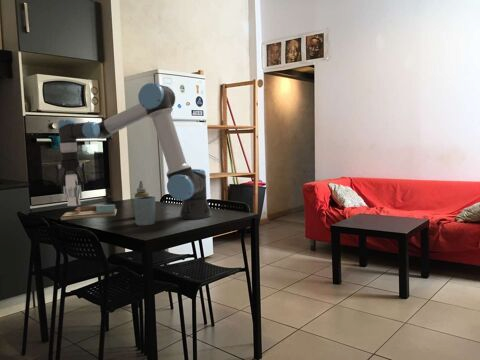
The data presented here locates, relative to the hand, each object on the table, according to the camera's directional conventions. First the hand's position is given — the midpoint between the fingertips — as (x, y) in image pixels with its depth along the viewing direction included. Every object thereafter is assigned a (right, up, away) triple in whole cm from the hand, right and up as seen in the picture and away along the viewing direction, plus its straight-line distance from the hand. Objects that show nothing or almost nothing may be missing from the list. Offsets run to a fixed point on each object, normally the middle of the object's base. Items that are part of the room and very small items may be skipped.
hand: (73, 198), depth 206 cm
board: (+3, -9, +16) cm, 18 cm away
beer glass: (0, -3, 0) cm, 3 cm away
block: (+12, -8, +12) cm, 18 cm away
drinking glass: (+38, -11, -13) cm, 42 cm away
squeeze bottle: (+33, -9, +5) cm, 35 cm away
